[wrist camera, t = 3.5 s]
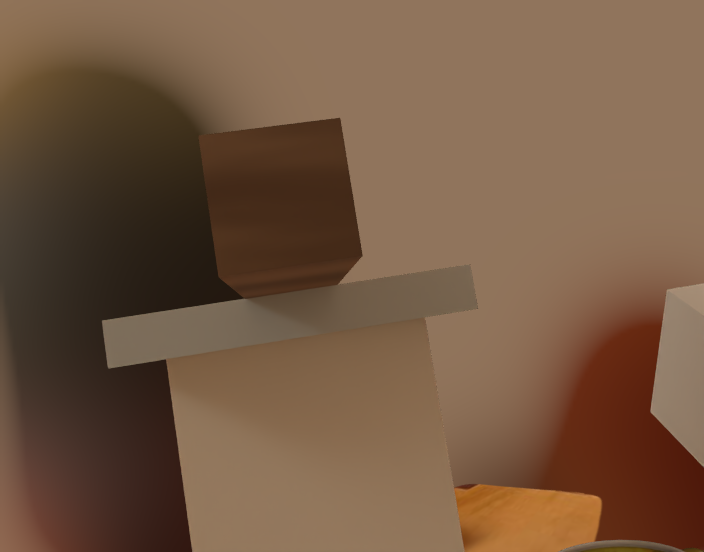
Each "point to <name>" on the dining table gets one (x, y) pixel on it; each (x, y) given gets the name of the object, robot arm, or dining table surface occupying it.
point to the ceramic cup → (625, 547)
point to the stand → (309, 415)
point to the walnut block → (281, 207)
